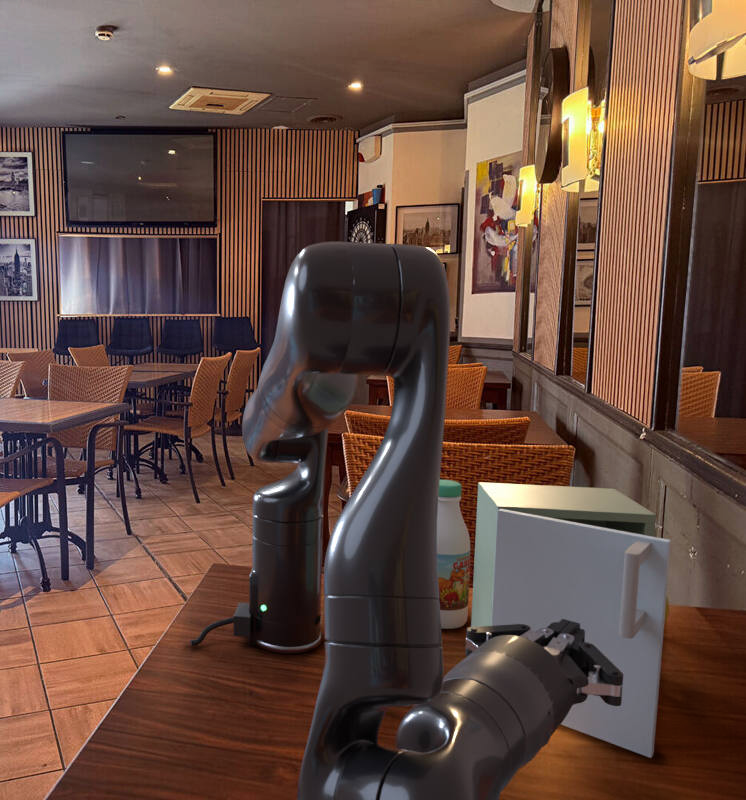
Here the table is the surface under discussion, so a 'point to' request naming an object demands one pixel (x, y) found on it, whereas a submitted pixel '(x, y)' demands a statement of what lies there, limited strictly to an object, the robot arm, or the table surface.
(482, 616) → the cabinet
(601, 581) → the cabinet door
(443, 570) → the milk bottle
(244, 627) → the robot arm
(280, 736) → the table surface
